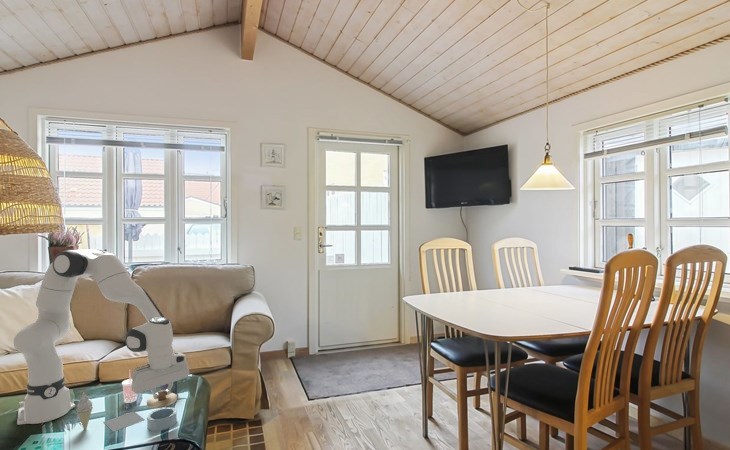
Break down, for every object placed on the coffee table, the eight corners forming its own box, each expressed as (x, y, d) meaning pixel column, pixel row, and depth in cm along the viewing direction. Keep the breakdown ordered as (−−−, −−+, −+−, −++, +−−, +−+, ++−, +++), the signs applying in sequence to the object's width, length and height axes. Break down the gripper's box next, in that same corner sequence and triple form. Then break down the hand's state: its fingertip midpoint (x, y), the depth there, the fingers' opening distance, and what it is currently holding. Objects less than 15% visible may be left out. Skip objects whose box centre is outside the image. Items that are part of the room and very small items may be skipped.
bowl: (143, 426, 153) (143, 414, 153) (169, 416, 161) (169, 405, 161) (154, 435, 147) (154, 423, 147) (181, 424, 154) (180, 412, 154)
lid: (154, 411, 146) (153, 400, 146) (142, 402, 153) (141, 392, 153) (182, 400, 154) (181, 390, 154) (169, 393, 161) (169, 383, 161)
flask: (165, 403, 172) (164, 378, 172) (159, 403, 172) (158, 378, 172) (178, 393, 181) (178, 370, 181) (172, 393, 181) (172, 370, 181)
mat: (103, 423, 156) (103, 422, 156) (133, 412, 164) (133, 411, 164) (113, 433, 149) (113, 431, 149) (144, 421, 157) (144, 419, 157)
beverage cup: (141, 400, 175) (140, 368, 174) (126, 406, 170) (125, 373, 169) (134, 397, 178) (133, 365, 178) (119, 402, 173) (118, 370, 173)
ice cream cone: (90, 425, 154) (89, 387, 154) (95, 430, 151) (93, 390, 151) (75, 431, 150) (73, 391, 150) (79, 435, 147) (78, 395, 147)
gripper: (134, 371, 143) (136, 409, 144) (190, 354, 159) (191, 389, 159) (127, 367, 147) (129, 404, 148) (182, 351, 163) (184, 385, 163)
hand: (162, 396), depth 154 cm, fingers closed on lid, 3 cm apart
